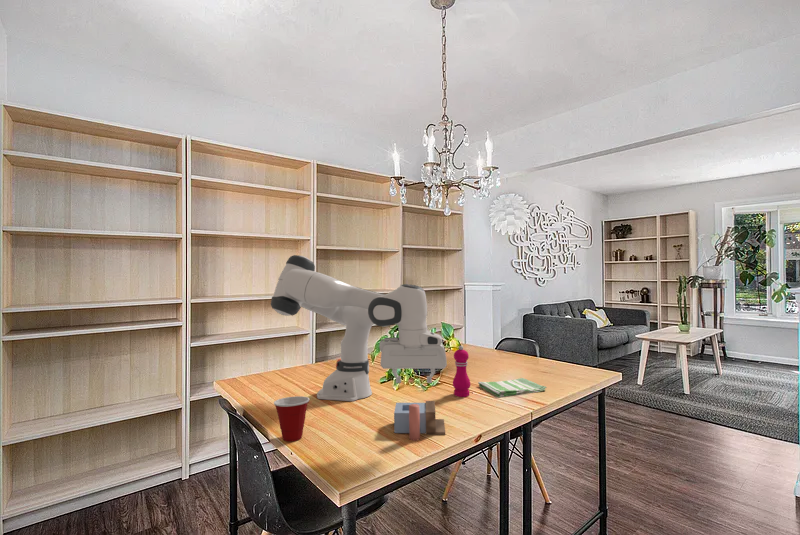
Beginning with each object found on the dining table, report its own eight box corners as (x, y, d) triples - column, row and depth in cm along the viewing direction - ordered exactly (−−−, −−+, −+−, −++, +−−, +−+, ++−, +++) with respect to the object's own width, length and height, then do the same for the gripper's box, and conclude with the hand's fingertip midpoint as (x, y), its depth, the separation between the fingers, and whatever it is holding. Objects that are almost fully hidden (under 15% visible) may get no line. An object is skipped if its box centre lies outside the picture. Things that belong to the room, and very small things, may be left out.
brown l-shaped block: (426, 434, 130) (425, 412, 130) (426, 421, 141) (425, 400, 141) (445, 434, 130) (445, 412, 130) (443, 421, 141) (443, 400, 141)
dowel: (409, 440, 126) (408, 407, 126) (409, 436, 129) (409, 404, 129) (419, 440, 126) (419, 407, 126) (419, 436, 129) (419, 404, 129)
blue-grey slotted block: (394, 432, 131) (394, 413, 131) (396, 421, 141) (396, 402, 141) (426, 433, 131) (425, 413, 131) (426, 421, 141) (425, 402, 141)
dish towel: (548, 392, 173) (547, 385, 173) (499, 399, 165) (499, 392, 165) (521, 381, 190) (521, 375, 190) (476, 387, 182) (476, 380, 182)
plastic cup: (306, 428, 136) (306, 392, 136) (313, 441, 126) (312, 401, 126) (272, 434, 132) (271, 396, 132) (276, 447, 122) (275, 407, 122)
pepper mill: (470, 397, 165) (469, 347, 165) (452, 397, 167) (451, 347, 167) (471, 392, 172) (470, 344, 172) (453, 391, 174) (452, 343, 174)
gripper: (378, 339, 125) (378, 385, 125) (446, 339, 124) (447, 385, 124) (380, 335, 131) (381, 379, 131) (445, 335, 130) (446, 379, 130)
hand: (413, 382), depth 127 cm, fingers open, 8 cm apart
